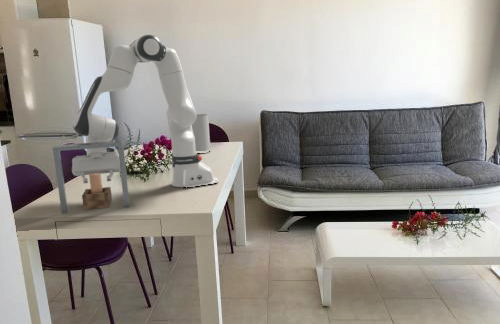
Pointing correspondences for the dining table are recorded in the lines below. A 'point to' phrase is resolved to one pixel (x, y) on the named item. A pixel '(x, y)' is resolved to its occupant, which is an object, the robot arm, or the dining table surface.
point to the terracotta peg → (96, 183)
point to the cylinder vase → (201, 132)
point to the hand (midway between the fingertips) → (97, 181)
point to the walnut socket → (97, 199)
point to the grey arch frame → (89, 146)
